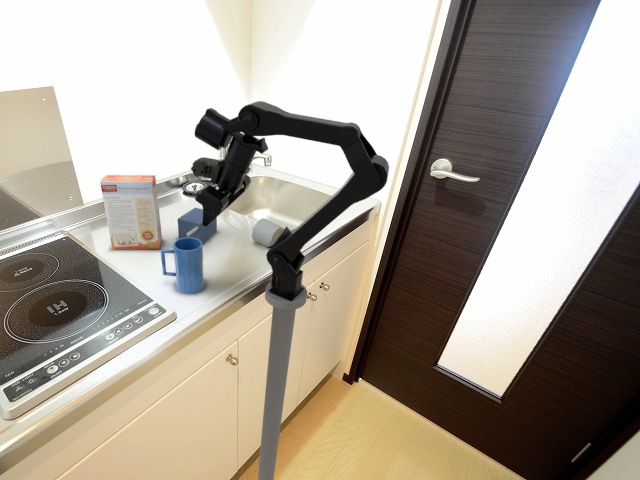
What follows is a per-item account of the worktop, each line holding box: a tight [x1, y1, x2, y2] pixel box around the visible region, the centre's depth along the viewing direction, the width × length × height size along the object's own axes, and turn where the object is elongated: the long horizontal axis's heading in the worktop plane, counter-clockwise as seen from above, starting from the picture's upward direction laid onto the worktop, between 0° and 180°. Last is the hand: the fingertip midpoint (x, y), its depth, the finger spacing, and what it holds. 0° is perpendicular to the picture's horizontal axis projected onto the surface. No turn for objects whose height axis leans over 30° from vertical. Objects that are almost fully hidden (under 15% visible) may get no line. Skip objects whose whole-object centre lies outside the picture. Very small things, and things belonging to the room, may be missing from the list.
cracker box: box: [99, 174, 163, 250], centre depth 105 cm, size 14×6×21 cm, turn 92°
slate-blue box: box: [177, 207, 218, 244], centre depth 112 cm, size 15×8×7 cm, turn 154°
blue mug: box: [160, 237, 205, 294], centre depth 90 cm, size 10×7×12 cm, turn 84°
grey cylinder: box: [251, 217, 285, 248], centre depth 111 cm, size 11×8×8 cm
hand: (212, 218), depth 88 cm, fingers open, 9 cm apart
